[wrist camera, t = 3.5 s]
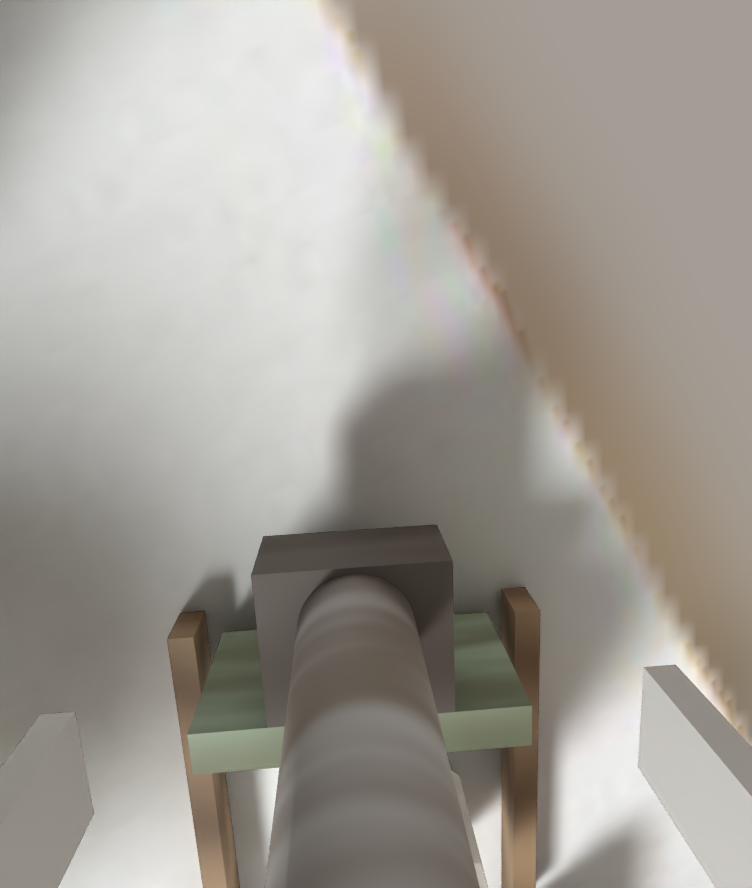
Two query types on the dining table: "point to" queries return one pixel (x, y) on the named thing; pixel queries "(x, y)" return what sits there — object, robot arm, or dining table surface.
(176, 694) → the lane
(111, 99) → the dining table surface
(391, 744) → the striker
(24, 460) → the dining table surface
